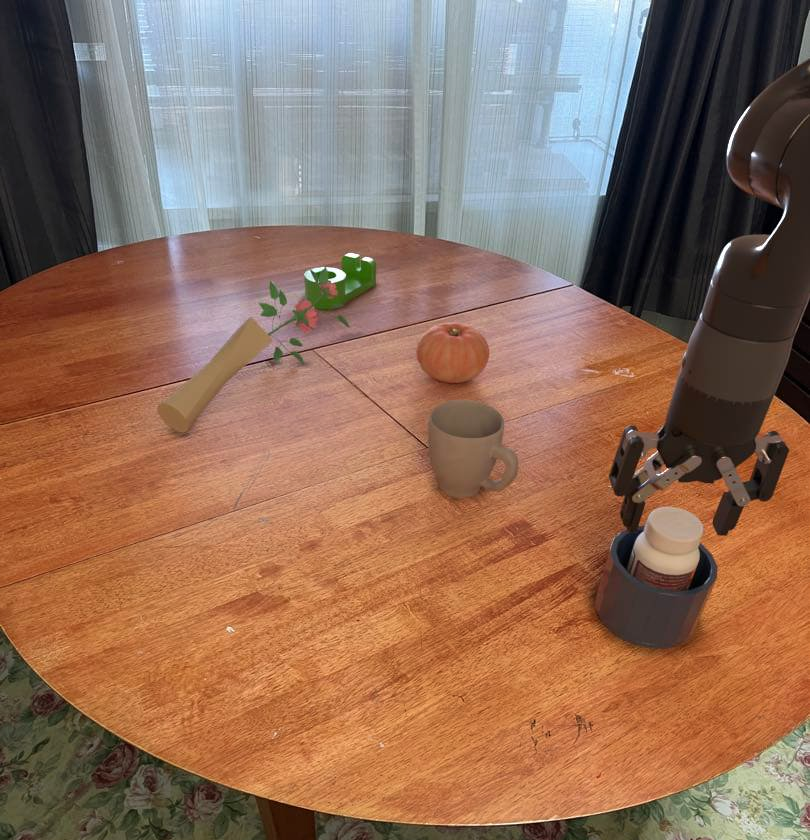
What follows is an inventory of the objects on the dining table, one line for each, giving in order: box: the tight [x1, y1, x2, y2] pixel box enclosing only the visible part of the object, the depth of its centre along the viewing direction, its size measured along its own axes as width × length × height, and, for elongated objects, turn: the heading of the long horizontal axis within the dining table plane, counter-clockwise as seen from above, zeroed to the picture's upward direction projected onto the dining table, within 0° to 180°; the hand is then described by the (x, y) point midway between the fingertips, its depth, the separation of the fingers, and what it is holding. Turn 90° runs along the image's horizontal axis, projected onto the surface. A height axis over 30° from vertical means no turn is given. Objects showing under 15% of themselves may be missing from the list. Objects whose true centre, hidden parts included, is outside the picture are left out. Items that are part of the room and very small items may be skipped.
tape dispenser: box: [304, 252, 377, 310], centre depth 136 cm, size 15×7×5 cm, turn 149°
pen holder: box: [594, 525, 719, 650], centre depth 77 cm, size 10×10×8 cm
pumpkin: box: [416, 322, 490, 384], centre depth 113 cm, size 11×11×8 cm
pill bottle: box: [626, 506, 705, 591], centre depth 75 cm, size 6×6×11 cm
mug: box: [427, 399, 519, 499], centre depth 91 cm, size 12×9×10 cm
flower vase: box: [156, 266, 351, 434], centre depth 110 cm, size 12×12×35 cm
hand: (674, 528), depth 72 cm, fingers open, 8 cm apart
